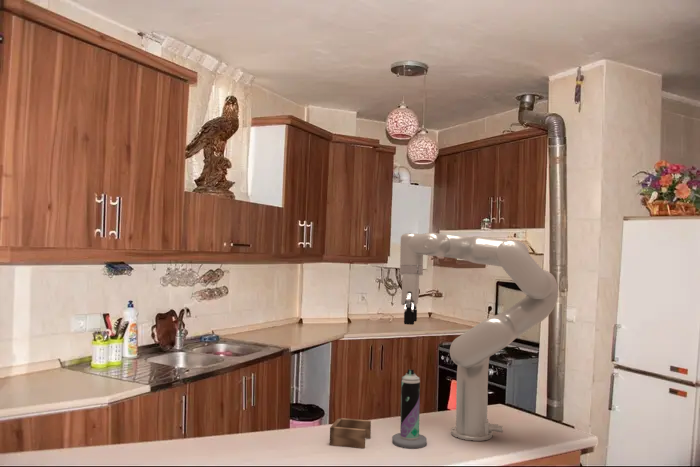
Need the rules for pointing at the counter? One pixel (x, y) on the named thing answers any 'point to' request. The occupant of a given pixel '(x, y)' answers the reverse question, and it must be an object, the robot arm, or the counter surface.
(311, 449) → the counter surface
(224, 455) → the counter surface
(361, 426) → the frame
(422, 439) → the mat
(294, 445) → the counter surface
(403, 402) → the spray can
